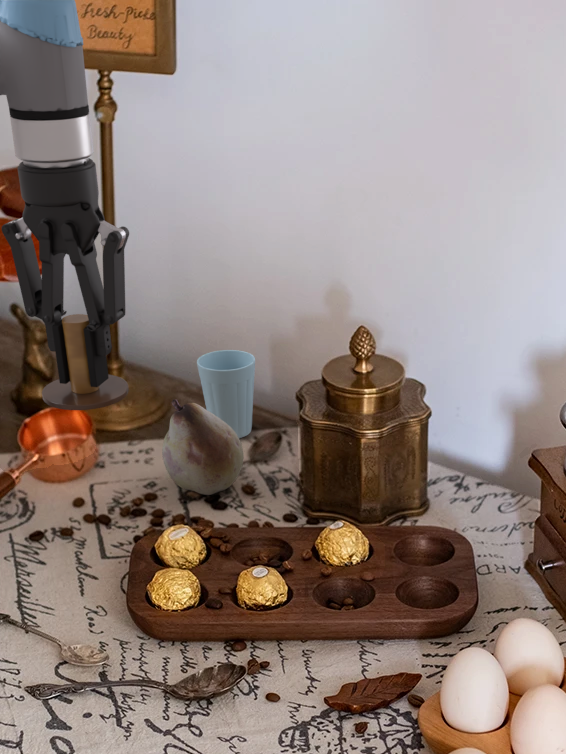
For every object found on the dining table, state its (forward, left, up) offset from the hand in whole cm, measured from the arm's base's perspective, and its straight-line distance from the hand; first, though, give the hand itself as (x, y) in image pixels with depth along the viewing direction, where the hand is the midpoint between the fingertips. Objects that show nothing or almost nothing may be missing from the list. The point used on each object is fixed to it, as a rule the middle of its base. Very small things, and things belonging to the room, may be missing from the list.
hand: (84, 380), depth 120 cm
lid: (0, 0, -2) cm, 2 cm away
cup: (+5, +28, -18) cm, 33 cm away
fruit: (+8, +12, -18) cm, 23 cm away
